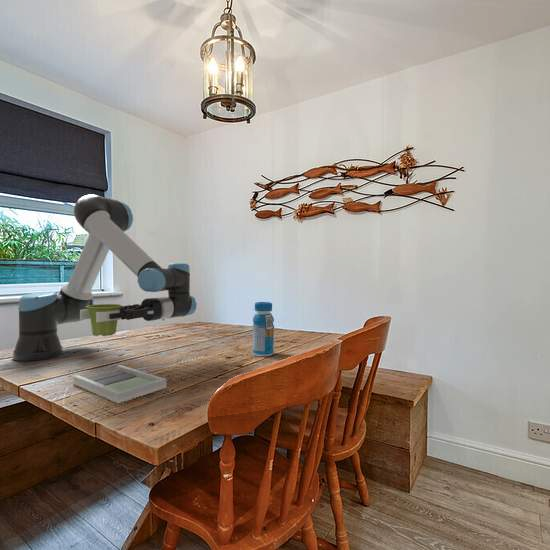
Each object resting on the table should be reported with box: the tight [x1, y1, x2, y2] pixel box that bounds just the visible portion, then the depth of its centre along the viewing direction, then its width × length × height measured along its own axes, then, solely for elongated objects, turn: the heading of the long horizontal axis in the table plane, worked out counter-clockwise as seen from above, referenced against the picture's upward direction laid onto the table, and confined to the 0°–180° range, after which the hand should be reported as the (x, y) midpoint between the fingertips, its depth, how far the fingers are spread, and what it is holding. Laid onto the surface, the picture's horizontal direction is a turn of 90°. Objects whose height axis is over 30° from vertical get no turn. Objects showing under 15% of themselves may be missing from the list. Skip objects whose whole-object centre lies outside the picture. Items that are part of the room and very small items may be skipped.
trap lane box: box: [72, 364, 167, 404], centre depth 95 cm, size 23×14×2 cm, turn 54°
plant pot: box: [86, 303, 123, 337], centre depth 102 cm, size 9×9×9 cm
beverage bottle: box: [252, 301, 275, 357], centre depth 132 cm, size 8×8×20 cm
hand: (88, 316), depth 98 cm, fingers closed on plant pot, 8 cm apart
